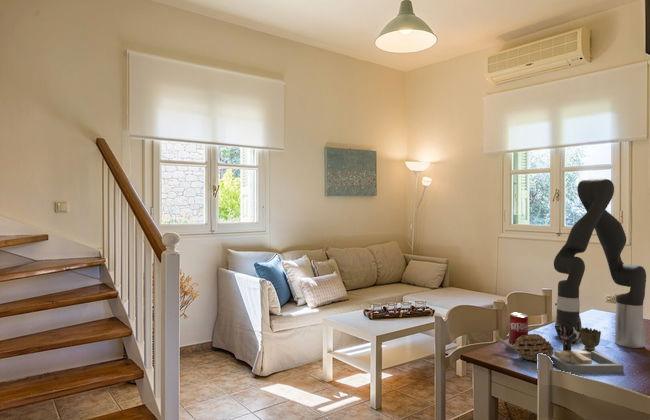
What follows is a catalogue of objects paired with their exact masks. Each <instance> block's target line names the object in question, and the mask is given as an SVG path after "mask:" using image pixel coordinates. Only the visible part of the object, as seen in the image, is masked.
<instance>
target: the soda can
mask: <svg viewBox="0 0 650 420" xmlns="http://www.w3.org/2000/svg"><path fill="white" fill-rule="evenodd" d="M522 335H523V336H524V335H526V336H528V335H529V316H528V315H527V314H525V313H520V312H511V313H510V314H509V315H508V343H509V344H510V343H511V344H513V345H515V342H516V339H518V338H519V337H521V336H522Z"/></svg>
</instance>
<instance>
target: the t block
mask: <svg viewBox="0 0 650 420" xmlns="http://www.w3.org/2000/svg"><path fill="white" fill-rule="evenodd" d="M553 352H554V354H553V355H554V356H556V357H558V358H559V359H561V360H563V361H564V362H566V363H569V362H571V363H572V364H593V361H592V358H591V352H590V351H588V350H571V351H563V350H553Z"/></svg>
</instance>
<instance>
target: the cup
mask: <svg viewBox="0 0 650 420" xmlns="http://www.w3.org/2000/svg"><path fill="white" fill-rule="evenodd" d="M579 333H580V334H581V337H580V339H579V340H580V342H581V344H582V345H583V347H584V350H585V351H587V352H591V351H595V350H596V347H598V346H599V344H600V340H601V335H602V331H601V330H598V329H595V328H594V329H592V328H590V327H587V326H586V327H583V326H582V330H580V328H579Z"/></svg>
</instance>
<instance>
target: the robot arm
mask: <svg viewBox="0 0 650 420" xmlns="http://www.w3.org/2000/svg"><path fill="white" fill-rule="evenodd" d="M576 189H577V190H576V191H577V195H578V199H579V200H580V202H581V204H582V206H583V207H584V209H585V211H586V213H584V214H583V216H582V217H580V218H579V219H578V220H577V221H576V222H575V223H574V224H573V226H572V227H571V229H570V231H569V234H568V236H567V239H566V242H565V244H564V245H563V246H562V247H561V249H560V250H559V251H558V252H557V254H556V255H555V257H554V259H553V269H555V271H556V272H557V273H560V274H564V275H567V278H566V279H563V280H559V281H558V283H557V299H556V303H557V306H556V315H555V316H556V317H555V319H556V318H557V320H559V324H558V325H555V324H554V329H555V332H556V334H557V338H558V340H559V341H561V343H562V351H572V346H573V345H576V344H577V343H578V342H579V340H580V337H581V334H578V333H577V331H576V330H577V327H576V323H578V322H579V316H580V286H581V284H582V283H581V282H582V279H583V277H584V273H585V272H586V270H585V269H586V265H585V262H584V260H583V259H582V257H579V256H575V255H577V254H582V253H585V251H586V250H587V249H588V246H589V242H590V241H591V237H592V235H593V233H594V230H595V234H596V236H597V238H598V241H599V244H600V246H601V248H602V250H603V253H604V256H605V258H606V261H607V265H608V269H609V273H610V276H611V279H612V281H613V282H614V283H615V284H616V285H618V286H622V287H629V291H628V292H626V293H620V294H617V295H616V296H615V331H614V333H615V335H614V343H615V344H616V345H618V346H621V347H625V348H633V349H640V348H645V346H646V323H645V322H644V301H645V296H646V294H645V293H646V284H647V283H646V282H647V272H646V269H645V268H644V267H643V266H641V265H636V264H629V263H625V262H623V260H622V257H621V254H622V252H623V250H624V249H625V246H626V243H627V234H626V233H625V230H624V227H623V225H622V223H621V221H619V219H617V218H616V217H615V216H613V215H612V214H611V213H610V212H608V211H607V207H608V206H609V205H610V202H611V201H612V199H613V196H614V193H615V185H614V183H613V182H612V180H610V179H608V178H587V179H586V178H585V179H582V180H580V181H579V182H578V185H577V188H576Z"/></svg>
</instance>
